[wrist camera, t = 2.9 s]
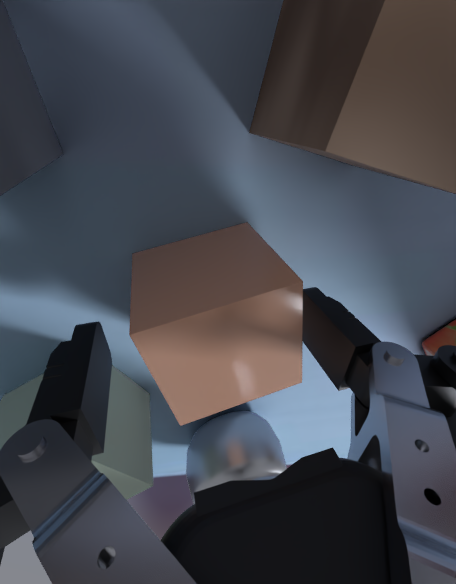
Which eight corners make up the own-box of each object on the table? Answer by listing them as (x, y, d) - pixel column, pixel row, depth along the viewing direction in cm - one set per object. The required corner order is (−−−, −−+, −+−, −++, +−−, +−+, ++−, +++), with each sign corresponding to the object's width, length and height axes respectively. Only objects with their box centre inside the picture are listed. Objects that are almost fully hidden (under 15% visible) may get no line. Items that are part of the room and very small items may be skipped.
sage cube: (3, 394, 13) (-53, 516, 9) (89, 346, 13) (69, 450, 9) (78, 430, 16) (59, 534, 12) (149, 392, 16) (153, 485, 12)
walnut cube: (302, -77, 7) (503, -298, 3) (424, 7, 9) (649, -70, 5) (248, 132, 10) (325, 151, 6) (353, 165, 11) (466, 196, 8)
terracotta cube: (132, 252, 11) (129, 335, 7) (246, 221, 12) (303, 281, 8) (168, 335, 14) (180, 425, 10) (257, 307, 15) (301, 382, 11)
